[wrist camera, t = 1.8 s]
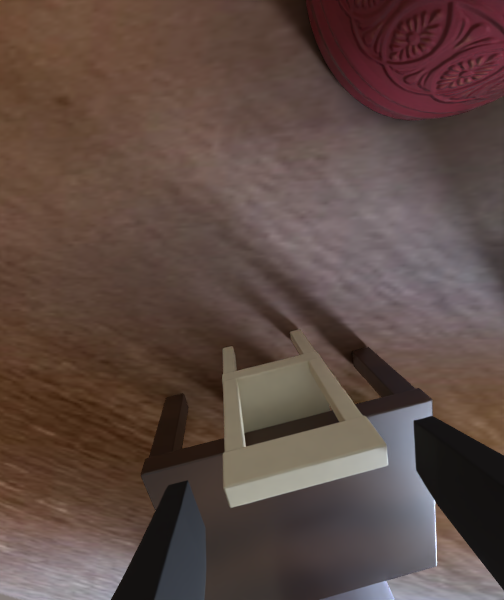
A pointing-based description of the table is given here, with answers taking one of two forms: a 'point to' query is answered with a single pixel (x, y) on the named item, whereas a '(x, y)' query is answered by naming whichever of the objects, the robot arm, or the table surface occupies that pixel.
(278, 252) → the table surface
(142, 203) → the table surface
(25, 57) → the table surface
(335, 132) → the table surface
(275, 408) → the chair
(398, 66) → the kitchen canister
